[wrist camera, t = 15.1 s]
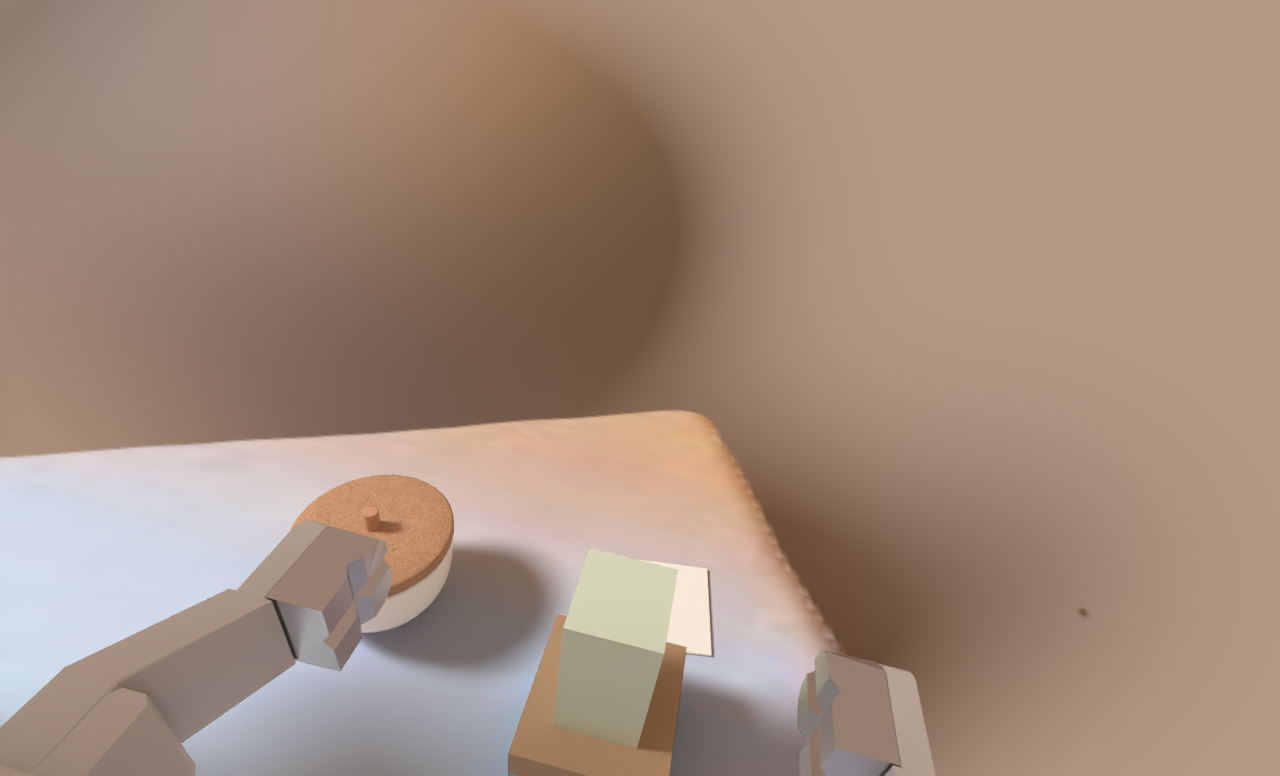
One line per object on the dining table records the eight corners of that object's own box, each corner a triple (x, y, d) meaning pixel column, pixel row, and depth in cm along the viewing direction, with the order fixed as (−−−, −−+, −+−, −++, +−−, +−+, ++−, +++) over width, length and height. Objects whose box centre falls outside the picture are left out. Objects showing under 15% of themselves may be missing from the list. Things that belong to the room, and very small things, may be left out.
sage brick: (553, 726, 34) (563, 627, 28) (576, 647, 38) (589, 547, 32) (636, 748, 34) (664, 653, 28) (651, 667, 38) (678, 569, 32)
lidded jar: (332, 690, 39) (305, 607, 34) (290, 576, 45) (262, 491, 40) (481, 612, 45) (478, 531, 40) (426, 521, 52) (417, 440, 46)
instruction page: (581, 640, 44) (581, 638, 44) (593, 555, 51) (593, 553, 51) (711, 656, 45) (711, 654, 45) (706, 570, 51) (707, 567, 51)
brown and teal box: (507, 793, 36) (508, 753, 32) (553, 657, 43) (557, 613, 40) (651, 834, 35) (666, 797, 32) (673, 689, 42) (686, 647, 39)
